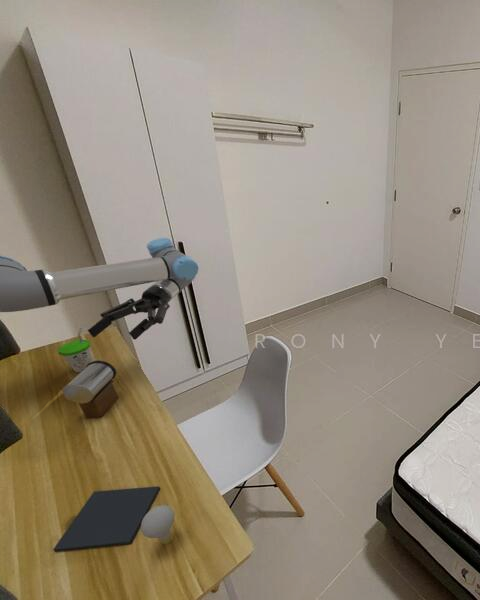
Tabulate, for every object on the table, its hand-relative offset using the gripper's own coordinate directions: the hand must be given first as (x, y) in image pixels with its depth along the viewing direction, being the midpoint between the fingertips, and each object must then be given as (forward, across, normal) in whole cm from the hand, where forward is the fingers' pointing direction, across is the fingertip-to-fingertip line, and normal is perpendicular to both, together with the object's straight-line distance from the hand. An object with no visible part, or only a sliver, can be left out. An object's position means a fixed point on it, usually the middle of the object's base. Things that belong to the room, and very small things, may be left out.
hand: (111, 335), depth 98 cm
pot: (+11, +2, -8) cm, 14 cm away
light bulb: (+43, -42, -17) cm, 62 cm away
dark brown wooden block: (+13, +3, -19) cm, 23 cm away
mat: (+40, -26, -16) cm, 51 cm away
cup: (-1, +23, -20) cm, 30 cm away
